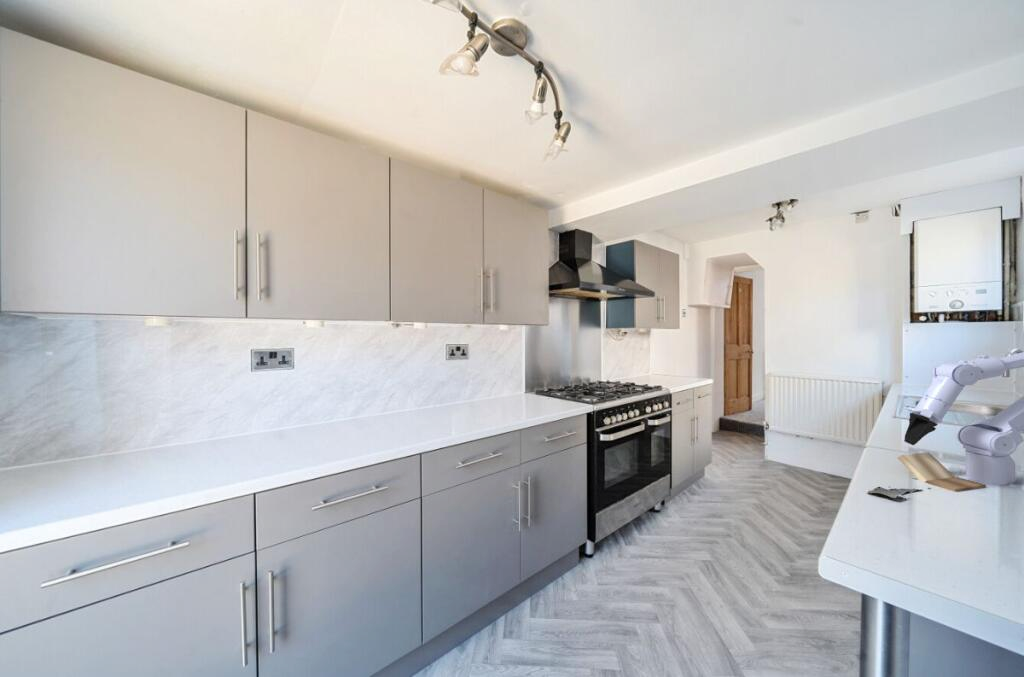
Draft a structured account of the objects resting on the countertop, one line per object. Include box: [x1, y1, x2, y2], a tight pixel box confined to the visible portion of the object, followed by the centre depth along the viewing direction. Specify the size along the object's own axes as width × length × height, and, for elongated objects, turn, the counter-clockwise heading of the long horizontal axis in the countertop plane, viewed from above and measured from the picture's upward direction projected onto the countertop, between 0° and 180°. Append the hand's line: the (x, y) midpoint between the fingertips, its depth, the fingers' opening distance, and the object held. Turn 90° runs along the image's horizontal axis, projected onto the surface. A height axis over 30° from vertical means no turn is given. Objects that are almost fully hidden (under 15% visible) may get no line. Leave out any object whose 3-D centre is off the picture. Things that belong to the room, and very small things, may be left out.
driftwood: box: [866, 477, 932, 499], centre depth 100 cm, size 21×7×2 cm, turn 105°
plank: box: [897, 451, 956, 483], centre depth 107 cm, size 11×8×2 cm
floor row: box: [927, 476, 987, 493], centre depth 106 cm, size 11×16×2 cm
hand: (909, 441), depth 107 cm, fingers open, 7 cm apart
